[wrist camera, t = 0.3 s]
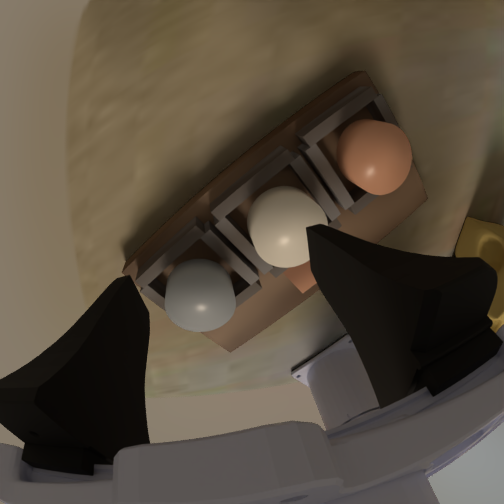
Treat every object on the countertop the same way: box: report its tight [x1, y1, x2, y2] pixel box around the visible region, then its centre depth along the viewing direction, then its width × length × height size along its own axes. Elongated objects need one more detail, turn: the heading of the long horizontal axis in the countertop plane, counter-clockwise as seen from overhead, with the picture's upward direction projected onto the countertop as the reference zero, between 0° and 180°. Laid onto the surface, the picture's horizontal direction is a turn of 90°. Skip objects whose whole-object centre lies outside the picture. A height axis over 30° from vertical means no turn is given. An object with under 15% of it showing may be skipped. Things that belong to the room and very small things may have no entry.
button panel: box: [122, 71, 428, 352], centre depth 20 cm, size 12×22×3 cm, turn 129°
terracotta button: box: [336, 119, 412, 195], centre depth 16 cm, size 4×4×2 cm
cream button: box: [247, 186, 328, 268], centre depth 17 cm, size 4×4×2 cm
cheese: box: [455, 217, 504, 333], centre depth 24 cm, size 10×11×10 cm
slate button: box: [165, 259, 236, 332], centre depth 18 cm, size 4×4×2 cm
